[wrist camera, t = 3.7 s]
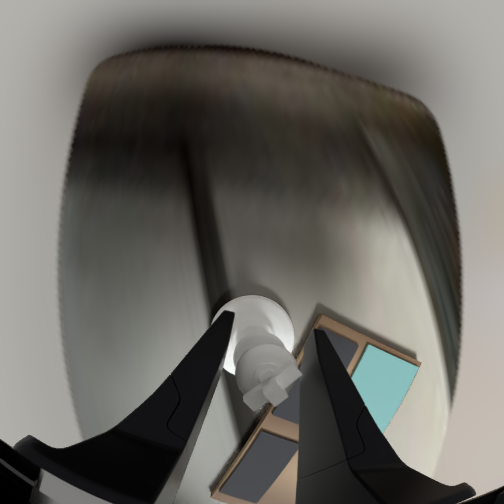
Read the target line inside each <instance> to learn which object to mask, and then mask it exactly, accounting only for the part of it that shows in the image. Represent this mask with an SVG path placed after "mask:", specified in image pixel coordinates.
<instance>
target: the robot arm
mask: <svg viewBox="0 0 504 504" xmlns="http://www.w3.org/2000/svg"><path fill="white" fill-rule="evenodd" d="M234 318H235V312H232V311H228V310H224V311H223V312H222V313H221V314H220V315H219V316H218V318H217V319H216V320H215V321H214V322H213V324H212V325H211V326H210V327H209V328H208V330H207V331H206V332H205V333H204V335H203V336H202V337H201V338H200V339H199V341H198V342H197V343H196V344H195V345H194V347H193V348H192V349H191V350H190V351H189V353H188V354H187V355H186V356H185V357H184V359H183V360H182V361H181V362H180V363H179V364H178V366H177V367H176V368H175V369H174V370H173V372H172V373H171V375H169V376H168V377H167V379H166V380H165V381H164V382H163V383H162V384H161V385H160V387H159V388H158V389H157V390H156V391H155V392H154V393H153V394H152V395H151V396H150V397H149V398H148V399H147V400H146V401H144V402H143V403H142V404H141V405H140V406H139V407H138V408H136V409H135V410H134V411H133V412H132V413H131V414H129V415H128V416H127V417H126V418H125V419H124V420H122V421H121V422H120V423H119V424H117V425H116V426H115V427H113V428H112V429H110V430H108V431H107V432H105V433H102V434H100V435H97V436H95V437H92V438H90V439H87V440H85V441H82V442H80V443H77V444H75V445H72V446H69V447H66V448H53V447H50V446H48V445H46V444H45V443H43V442H41V441H40V440H38V439H36V438H35V437H33V436H31V435H28V436H26V437H25V438H23V439H22V440H20V441H19V442H17V443H16V444H15V446H14V447H11V446H9V445H8V444H7V443H5V442H4V441H2V440H1V439H0V504H173V502H174V500H175V497H176V494H177V492H178V489H179V486H180V484H181V481H182V479H183V476H184V473H185V471H186V468H187V465H188V463H189V460H190V457H191V455H192V452H193V449H194V446H195V444H196V441H197V438H198V436H199V433H200V430H201V428H202V425H203V422H204V419H205V417H206V414H207V411H208V409H209V406H210V403H211V400H212V398H213V395H214V392H215V389H216V387H217V384H218V381H219V378H220V375H221V373H222V369H223V366H224V362H225V358H226V354H227V350H228V346H229V342H230V338H231V333H232V328H233V323H234ZM301 373H302V375H301V376H300V401H299V442H298V467H297V484H296V499H295V504H457V503H458V504H504V486H502V487H500V488H498V489H495V490H493V491H490V492H488V493H486V494H483V495H481V496H478V497H476V498H472V499H470V500H467V501H464V500H466V499H468V498H471V497H473V496H475V495H476V492H475V490H474V489H473V488H472V487H471V486H470V485H468V484H467V483H461V484H459V485H456V486H448V485H444V484H442V483H439V482H438V481H435V480H433V479H431V478H429V477H427V476H425V475H423V474H422V473H420V472H418V471H416V470H414V469H412V468H410V467H408V466H407V465H406V464H405V463H404V462H402V460H401V459H400V458H399V457H398V455H397V454H396V453H395V451H394V450H393V448H392V447H391V445H390V444H389V442H388V441H387V439H386V438H385V436H384V435H383V433H382V432H381V430H380V429H379V427H378V426H377V424H376V422H375V421H374V419H373V417H372V415H371V414H370V412H369V410H368V408H367V406H365V403H364V401H363V399H362V397H361V395H360V393H359V392H358V390H357V388H356V386H355V384H354V382H353V381H352V379H351V377H350V375H349V373H348V371H347V370H346V368H345V366H344V364H343V362H342V361H341V359H340V357H339V355H338V353H337V352H336V350H335V348H334V346H333V344H332V343H331V341H330V339H329V337H328V336H327V334H326V332H325V331H324V330H323V329H317V328H314V329H312V331H311V332H310V334H309V336H308V338H307V339H306V341H305V345H304V352H303V360H302V369H301ZM462 501H464V502H462ZM459 502H461V503H459Z"/></svg>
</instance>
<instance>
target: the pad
mask: <svg viewBox="0 0 504 504" xmlns="http://www.w3.org/2000/svg"><path fill="white" fill-rule="evenodd" d="M418 369H419V367H417V366H414V365H412V364H410V363H408V362H406V361H403V360H401V359H399V358H397V357H395V356H393V355H390V354H388V353H386V352H384V351H382V350H380V349H377V348H375V347H373V346H371V345H369V344H367V346H366V348H365V350H364V352H363V354H362V356H361V358H360V360H359V362H358V364H357V366H356V368H355V370H354V372H353V373H352V375H351V379H352V381H353V382H354V384H355V386H356V388H357V390H358V392H359V393H360V395H361V397H362V399H363V401H364V403H365V406H367V408H368V410H369V412H370V414H371V415H372V417H373V419H374V421H375V422H376V424H377V426H378V427H379V429H380V430H381V432H382V433H384V431H385V430H386V428H387V426H388V425H389V423H390V421H391V420H392V418H393V416H394V415H395V413H396V411H397V409H398V408H399V406H400V404H401V402H402V400H403V398H404V397H405V395H406V393H407V391H408V389H409V387H410V385H411V383H412V381H413V379H414V377H415V375H416V373H417V371H418Z"/></svg>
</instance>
